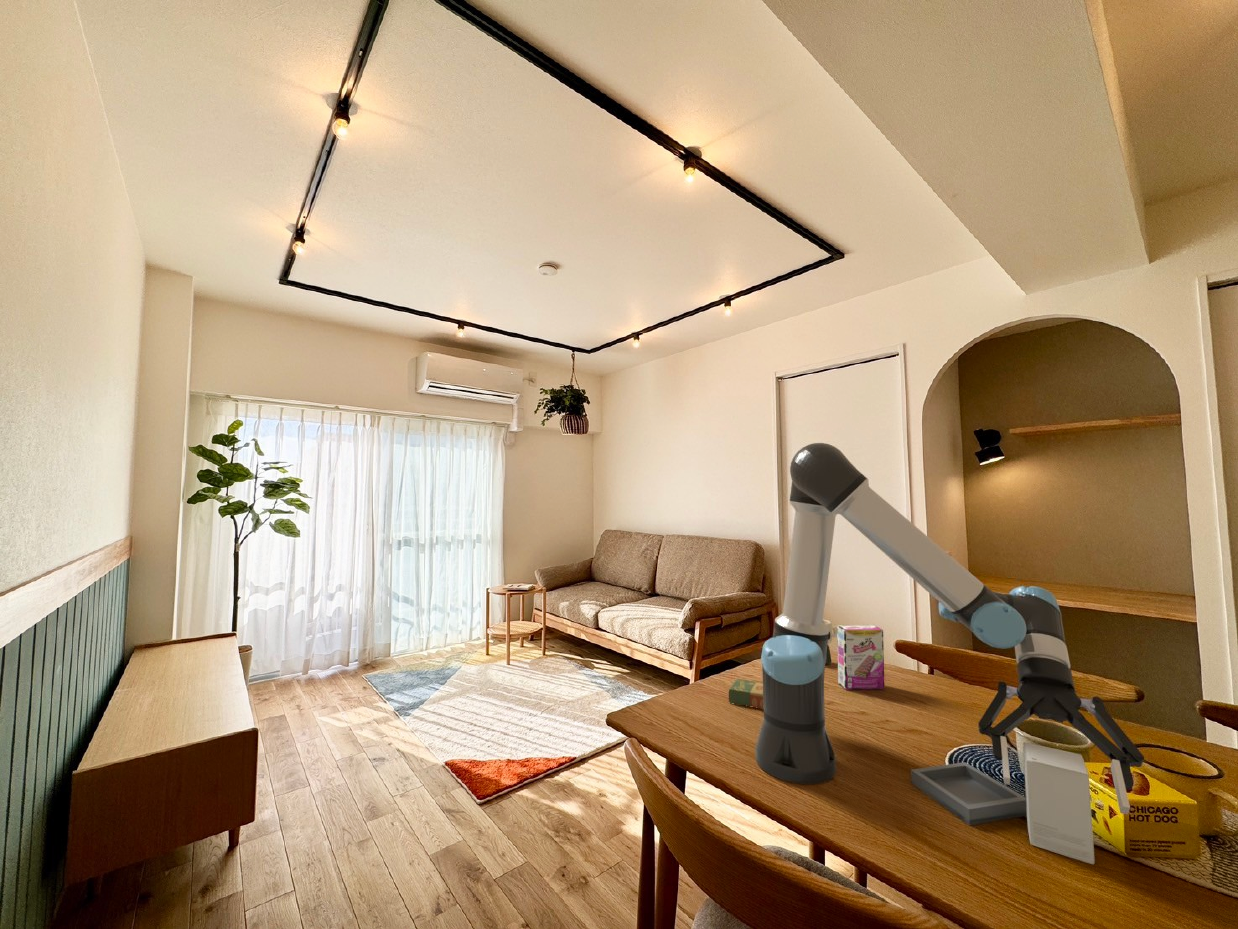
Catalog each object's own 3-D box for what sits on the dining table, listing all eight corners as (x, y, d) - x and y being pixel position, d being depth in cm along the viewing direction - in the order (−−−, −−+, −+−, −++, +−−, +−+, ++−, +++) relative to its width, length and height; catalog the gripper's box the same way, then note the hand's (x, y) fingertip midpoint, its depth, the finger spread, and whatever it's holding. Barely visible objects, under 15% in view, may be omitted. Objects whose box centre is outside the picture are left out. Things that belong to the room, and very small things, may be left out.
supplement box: (1096, 867, 71) (1090, 775, 72) (1029, 845, 75) (1023, 758, 76) (1088, 838, 77) (1083, 753, 78) (1026, 820, 81) (1022, 740, 82)
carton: (793, 717, 121) (792, 699, 121) (728, 704, 128) (727, 687, 128) (798, 704, 128) (797, 687, 128) (736, 693, 135) (736, 677, 136)
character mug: (808, 667, 155) (807, 624, 156) (799, 659, 162) (798, 619, 163) (843, 666, 155) (841, 623, 156) (832, 658, 162) (830, 618, 163)
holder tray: (969, 825, 80) (968, 809, 80) (911, 783, 92) (910, 769, 92) (1029, 815, 82) (1029, 799, 82) (965, 775, 94) (964, 762, 94)
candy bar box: (846, 690, 136) (844, 629, 137) (837, 684, 141) (835, 625, 142) (886, 690, 136) (883, 629, 137) (876, 683, 141) (874, 624, 142)
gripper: (1137, 691, 84) (1177, 833, 71) (960, 665, 99) (965, 779, 85) (1144, 668, 80) (1187, 814, 67) (958, 644, 94) (963, 761, 81)
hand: (1063, 795), depth 76 cm, fingers open, 13 cm apart
